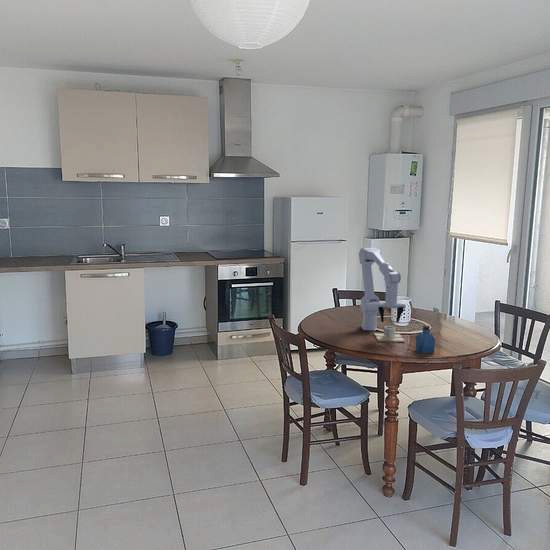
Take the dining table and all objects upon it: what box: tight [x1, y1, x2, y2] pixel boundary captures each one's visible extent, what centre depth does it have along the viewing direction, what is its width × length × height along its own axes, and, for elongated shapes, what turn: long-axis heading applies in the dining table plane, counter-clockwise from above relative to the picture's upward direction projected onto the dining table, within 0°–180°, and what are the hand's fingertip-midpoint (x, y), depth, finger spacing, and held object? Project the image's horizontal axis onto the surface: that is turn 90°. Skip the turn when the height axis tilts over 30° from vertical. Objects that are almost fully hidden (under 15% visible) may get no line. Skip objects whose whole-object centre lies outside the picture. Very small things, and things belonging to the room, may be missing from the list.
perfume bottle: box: [415, 325, 436, 354], centre depth 250 cm, size 6×6×12 cm
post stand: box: [373, 327, 406, 343], centre depth 270 cm, size 13×13×6 cm
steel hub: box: [383, 325, 396, 338], centre depth 270 cm, size 6×6×5 cm
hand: (389, 321), depth 269 cm, fingers open, 7 cm apart
